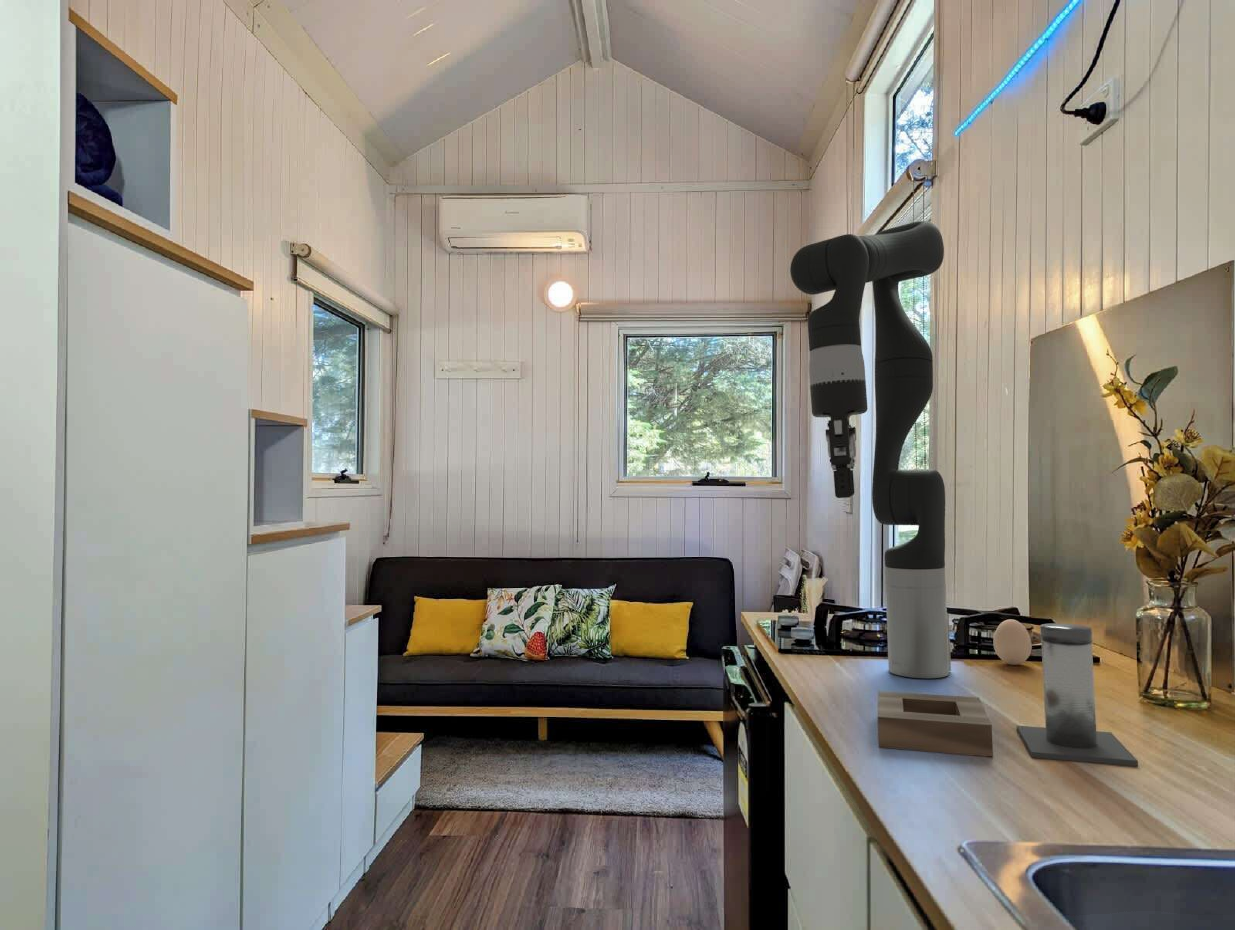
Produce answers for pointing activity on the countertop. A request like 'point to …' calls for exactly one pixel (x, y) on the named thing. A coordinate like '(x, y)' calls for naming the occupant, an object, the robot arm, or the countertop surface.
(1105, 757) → the rubber mat
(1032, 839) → the countertop surface
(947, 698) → the walnut holder
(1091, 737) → the grey lidded canister
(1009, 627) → the egg
